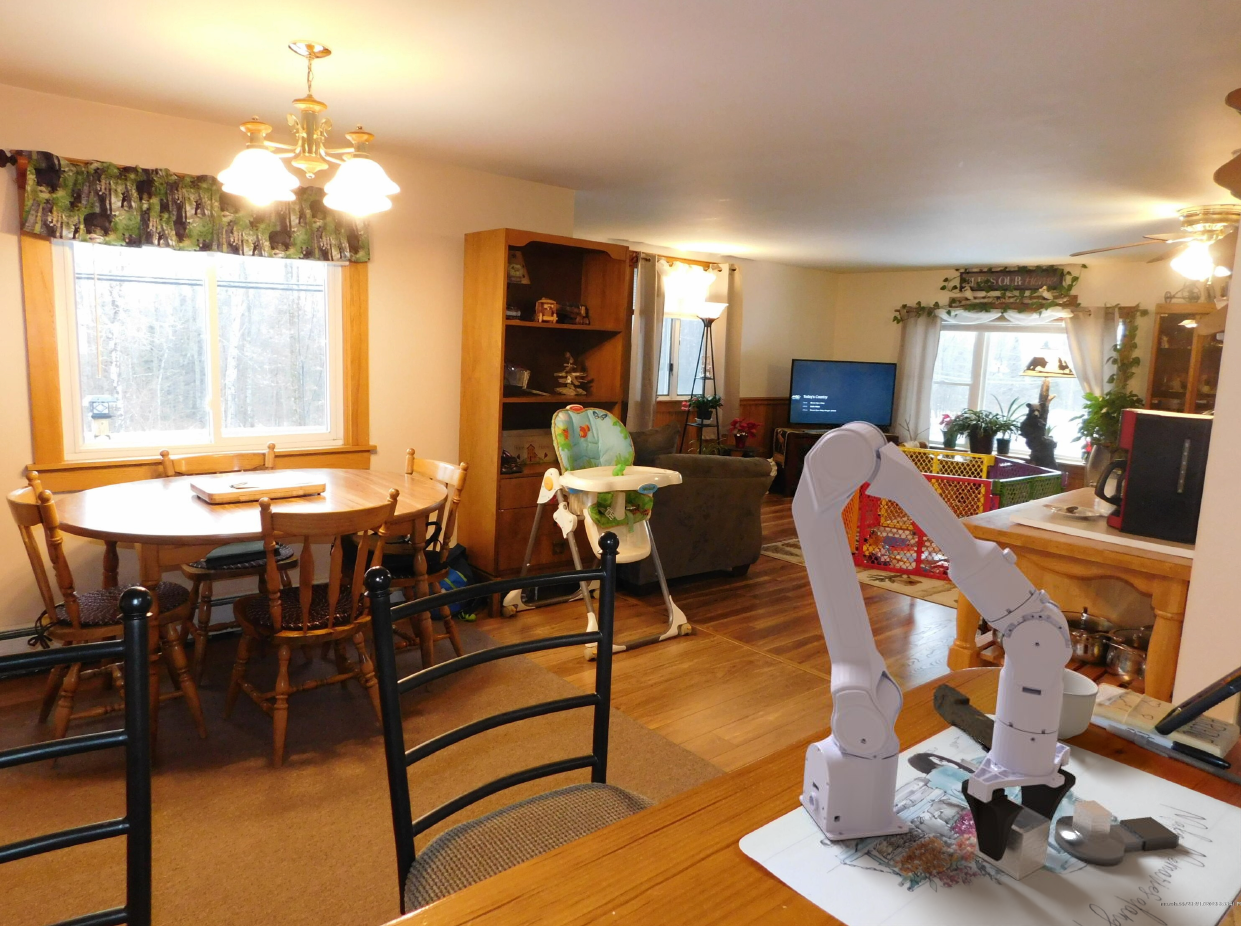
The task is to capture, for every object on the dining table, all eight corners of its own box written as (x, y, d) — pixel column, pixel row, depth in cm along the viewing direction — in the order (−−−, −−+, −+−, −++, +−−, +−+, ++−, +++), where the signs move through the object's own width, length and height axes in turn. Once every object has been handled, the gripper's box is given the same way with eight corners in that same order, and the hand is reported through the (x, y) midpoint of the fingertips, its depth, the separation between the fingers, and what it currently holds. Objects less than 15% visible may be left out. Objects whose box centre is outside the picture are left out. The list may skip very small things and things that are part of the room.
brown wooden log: (1043, 775, 99) (1047, 741, 99) (1015, 778, 98) (1020, 743, 98) (949, 707, 117) (953, 678, 117) (925, 709, 117) (929, 679, 116)
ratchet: (1085, 869, 81) (1091, 828, 80) (1040, 831, 87) (1045, 793, 87) (1192, 856, 84) (1198, 816, 83) (1141, 820, 90) (1146, 783, 89)
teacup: (1012, 704, 119) (1018, 653, 117) (1095, 726, 112) (1103, 673, 111) (992, 740, 107) (999, 684, 106) (1084, 767, 101) (1092, 708, 100)
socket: (1018, 880, 79) (1023, 834, 78) (974, 853, 83) (979, 809, 82) (1045, 865, 81) (1050, 820, 81) (1001, 839, 86) (1006, 796, 85)
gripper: (1022, 756, 73) (1007, 890, 75) (1105, 720, 80) (1089, 843, 82) (954, 724, 79) (942, 849, 81) (1038, 693, 86) (1024, 808, 88)
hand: (1012, 843), depth 82 cm, fingers open, 7 cm apart
